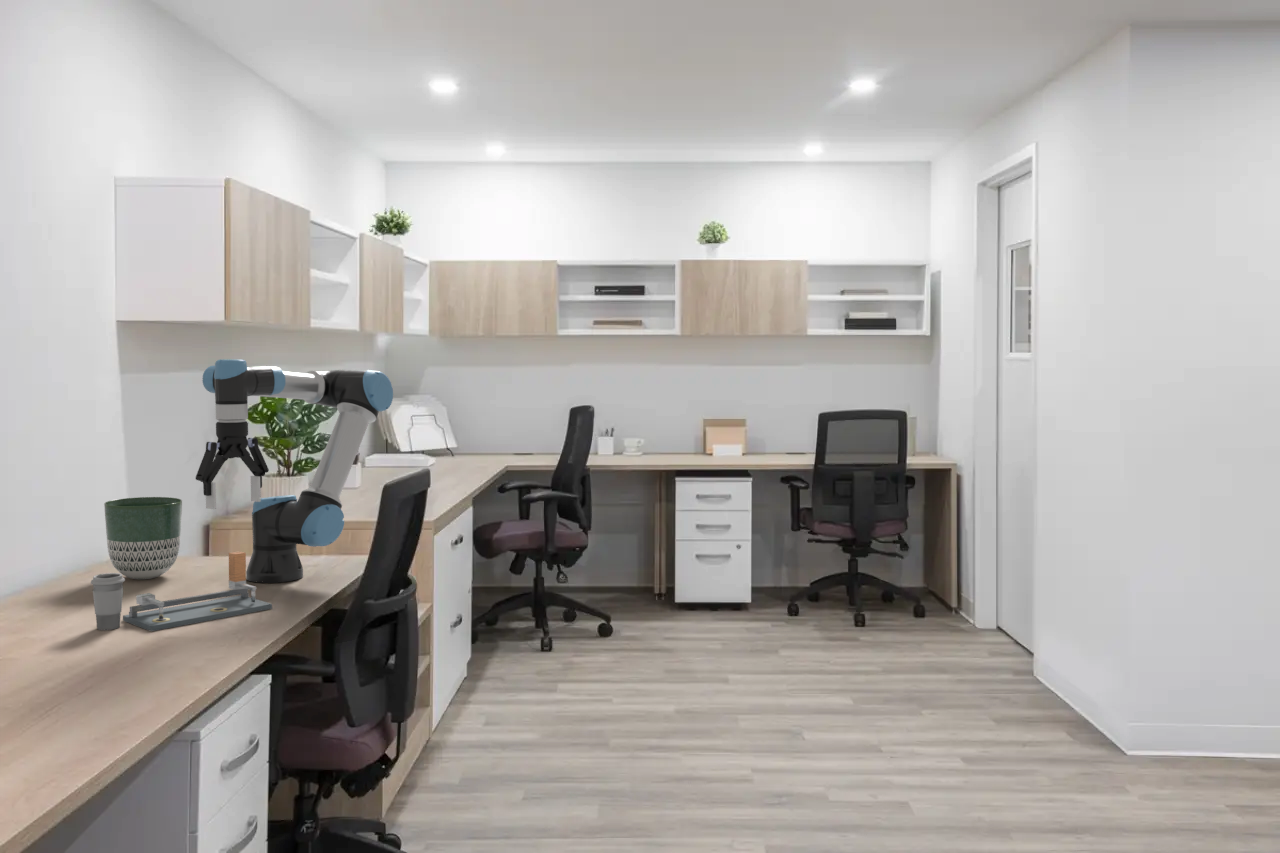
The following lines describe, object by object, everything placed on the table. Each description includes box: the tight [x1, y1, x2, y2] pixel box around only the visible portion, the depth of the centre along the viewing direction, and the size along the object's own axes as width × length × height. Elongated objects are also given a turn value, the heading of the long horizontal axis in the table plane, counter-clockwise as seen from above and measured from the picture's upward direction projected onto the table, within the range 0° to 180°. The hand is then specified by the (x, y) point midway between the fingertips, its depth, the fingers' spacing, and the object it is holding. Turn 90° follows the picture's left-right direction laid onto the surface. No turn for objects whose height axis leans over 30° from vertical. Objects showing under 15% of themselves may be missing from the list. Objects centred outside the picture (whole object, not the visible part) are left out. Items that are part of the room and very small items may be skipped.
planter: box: [103, 496, 183, 580], centre depth 290 cm, size 20×20×21 cm
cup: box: [90, 572, 126, 631], centre depth 237 cm, size 7×7×12 cm
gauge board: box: [122, 594, 273, 632], centre depth 251 cm, size 30×14×1 cm, turn 140°
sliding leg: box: [228, 551, 257, 602], centre depth 260 cm, size 3×10×11 cm, turn 50°
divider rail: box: [128, 588, 250, 619], centre depth 251 cm, size 29×10×5 cm, turn 140°
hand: (233, 504), depth 262 cm, fingers open, 13 cm apart
